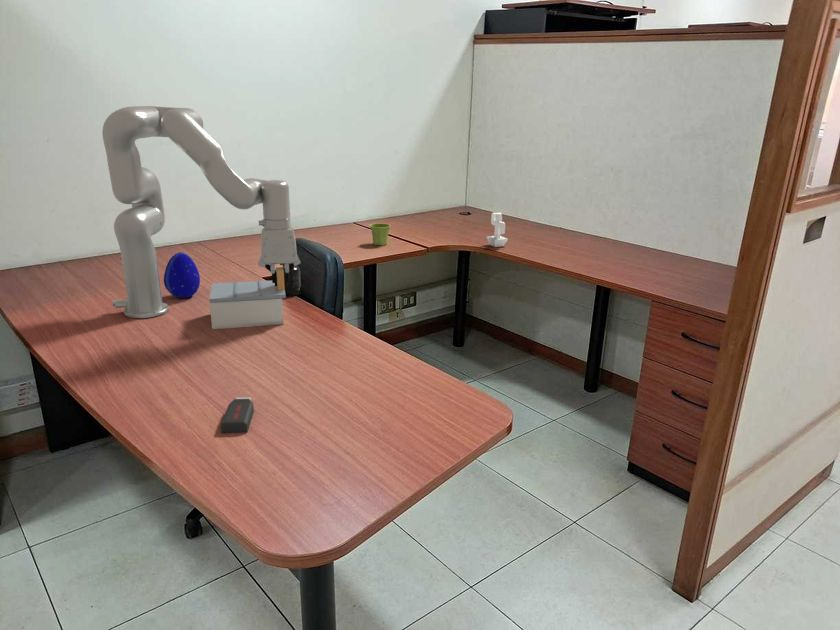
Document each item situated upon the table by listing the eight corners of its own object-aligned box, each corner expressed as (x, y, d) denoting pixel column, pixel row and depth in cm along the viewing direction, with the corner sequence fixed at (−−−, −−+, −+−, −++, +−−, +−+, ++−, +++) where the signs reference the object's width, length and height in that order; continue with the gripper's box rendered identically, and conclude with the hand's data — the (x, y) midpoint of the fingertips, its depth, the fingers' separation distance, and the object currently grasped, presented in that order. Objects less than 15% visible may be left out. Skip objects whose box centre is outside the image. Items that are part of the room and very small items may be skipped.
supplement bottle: (276, 294, 208) (274, 260, 204) (289, 289, 214) (287, 255, 210) (292, 298, 205) (290, 263, 201) (305, 292, 211) (303, 258, 207)
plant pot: (366, 242, 281) (366, 223, 278) (385, 241, 285) (385, 222, 282) (374, 247, 274) (374, 228, 271) (393, 245, 277) (393, 226, 274)
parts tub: (212, 329, 177) (209, 302, 175) (214, 312, 190) (212, 288, 187) (283, 324, 182) (281, 298, 179) (280, 308, 195) (279, 284, 192)
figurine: (495, 248, 277) (497, 215, 272) (484, 243, 285) (486, 211, 280) (509, 247, 280) (511, 214, 275) (497, 242, 288) (499, 210, 283)
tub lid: (209, 302, 174) (207, 278, 172) (212, 286, 188) (210, 264, 185) (285, 297, 179) (284, 274, 177) (282, 282, 193) (281, 261, 190)
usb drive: (221, 434, 125) (220, 422, 124) (232, 406, 136) (230, 394, 135) (247, 433, 125) (246, 421, 124) (256, 405, 136) (255, 394, 135)
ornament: (189, 290, 210) (184, 247, 205) (208, 295, 206) (203, 251, 201) (161, 298, 201) (156, 253, 196) (180, 303, 197) (175, 258, 192)
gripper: (248, 227, 173) (253, 290, 180) (306, 226, 177) (308, 287, 184) (248, 222, 180) (253, 282, 187) (304, 220, 184) (306, 280, 191)
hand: (280, 284), depth 185 cm, fingers closed on tub lid, 2 cm apart
